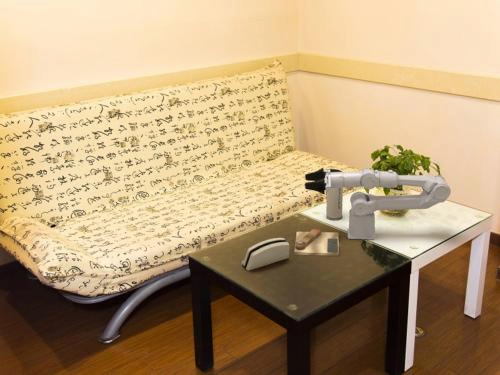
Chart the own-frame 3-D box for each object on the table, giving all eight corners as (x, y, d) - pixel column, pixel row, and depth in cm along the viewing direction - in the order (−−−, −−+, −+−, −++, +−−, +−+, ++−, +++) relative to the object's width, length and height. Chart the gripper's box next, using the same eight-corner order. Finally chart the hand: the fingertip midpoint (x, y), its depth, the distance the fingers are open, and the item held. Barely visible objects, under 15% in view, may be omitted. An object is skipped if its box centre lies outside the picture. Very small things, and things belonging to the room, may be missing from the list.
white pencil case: (281, 252, 208) (286, 231, 202) (288, 261, 205) (293, 240, 199) (240, 264, 200) (244, 243, 194) (247, 274, 197) (251, 253, 191)
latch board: (338, 234, 219) (338, 232, 219) (339, 255, 204) (339, 253, 203) (296, 234, 221) (296, 231, 221) (294, 254, 206) (294, 252, 205)
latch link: (302, 250, 206) (302, 245, 205) (293, 248, 208) (293, 242, 207) (321, 234, 218) (321, 228, 217) (312, 232, 220) (312, 226, 219)
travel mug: (325, 214, 238) (326, 167, 231) (342, 214, 237) (343, 167, 230) (325, 220, 232) (325, 172, 225) (342, 220, 232) (343, 172, 224)
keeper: (337, 246, 208) (337, 238, 207) (337, 252, 204) (337, 244, 203) (327, 246, 209) (327, 238, 207) (327, 252, 204) (327, 244, 203)
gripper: (341, 161, 217) (304, 163, 219) (343, 178, 204) (304, 179, 205) (342, 179, 220) (305, 180, 221) (343, 196, 207) (305, 197, 208)
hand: (305, 181), depth 214 cm, fingers open, 7 cm apart
